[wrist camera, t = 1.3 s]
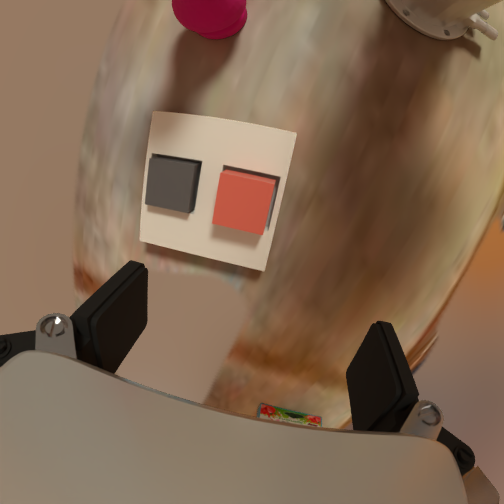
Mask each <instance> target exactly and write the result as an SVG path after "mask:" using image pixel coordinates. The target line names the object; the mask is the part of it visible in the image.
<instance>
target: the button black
mask: <svg viewBox="0 0 504 504" xmlns="http://www.w3.org/2000/svg"><path fill="white" fill-rule="evenodd" d="M201 165H202V163H200V162H194V161H188V160H182V159H176V158H169V157H163V156H158V157H153V158H149V166H148V175H147V185H146V196H145V204H146V205H151V206H156V207H161V208H165V209H170V210H175V211H179V212H184V213H188V212H190V211H191V210H192V209H193V208H195V204H196V197H197V190H198V184H199V177H200V171H201Z"/></svg>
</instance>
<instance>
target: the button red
mask: <svg viewBox="0 0 504 504" xmlns="http://www.w3.org/2000/svg"><path fill="white" fill-rule="evenodd" d="M275 182H276V180H274V179H269V178H265V177H260V176H256V175H251V174H246V173H241V172H237V171H232V170H227V169H226V170H224V171H222V172H221V173H220V177H219V183H218V189H217V195H216V201H215V207H214V213H213V219H212V224H216V225H220V226H225V227H229V228H233V229H238V230H242V231H246V232H251V233H255V234H259V235H263V233H264V230H265V226H266V221H267V217H268V213H269V208H270V204H271V199H272V195H273V191H274V186H275Z"/></svg>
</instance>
